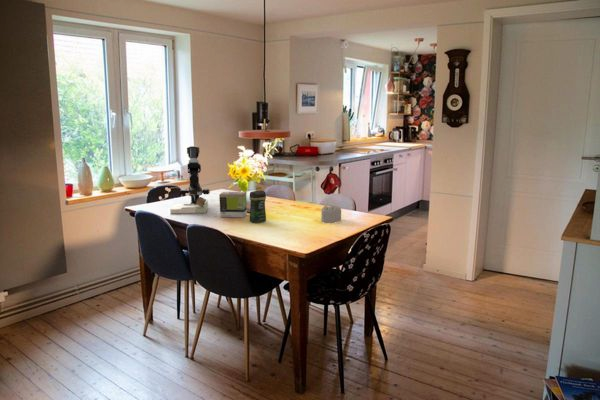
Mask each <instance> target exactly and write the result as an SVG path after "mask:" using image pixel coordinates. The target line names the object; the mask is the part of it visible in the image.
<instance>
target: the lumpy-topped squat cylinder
mask: <svg viewBox="0 0 600 400" xmlns="http://www.w3.org/2000/svg"><path fill="white" fill-rule="evenodd" d="M320 215H321V219H320V221H321V223H323V222H324V224H333V223H335V222H336V223H338V222H341V221H342V207H339V206H337V205H329V206H328V205H324V206H323V207H322V208H321V213H320Z"/></svg>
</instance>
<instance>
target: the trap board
mask: <svg viewBox="0 0 600 400" xmlns="http://www.w3.org/2000/svg"><path fill="white" fill-rule="evenodd" d="M208 203H209V200H206V202H205V204H204V206H203V207H201V206H199V205H197V204H196V205H194V204H190V203H177V204H176V203H175V204H173V205H172V206H171V208H170V211H169V212H170V215H181V214H182V215H183V214H184V215H190V214H193V215H194V214H206V213H207V211H208V209H209V204H208Z"/></svg>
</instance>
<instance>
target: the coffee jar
mask: <svg viewBox="0 0 600 400" xmlns="http://www.w3.org/2000/svg"><path fill="white" fill-rule="evenodd" d="M248 198H249V200H250V201H249V202H250V203H249V204H250V207H249V208H250V209H249V222H251V223H256V224H258V223H264V222H266V221H267V214H266V198H267V196H266V190H265V191H264V190H261V189H260V190H254V191H250V192H249V197H248Z"/></svg>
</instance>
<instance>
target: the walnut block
mask: <svg viewBox="0 0 600 400" xmlns="http://www.w3.org/2000/svg"><path fill="white" fill-rule="evenodd" d="M206 201H207V199H205V198H204V197H202V196H199V198H198V200H197V202H196V204H197V205H199V206H201V207H203V206H204V204H205V202H206Z"/></svg>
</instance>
